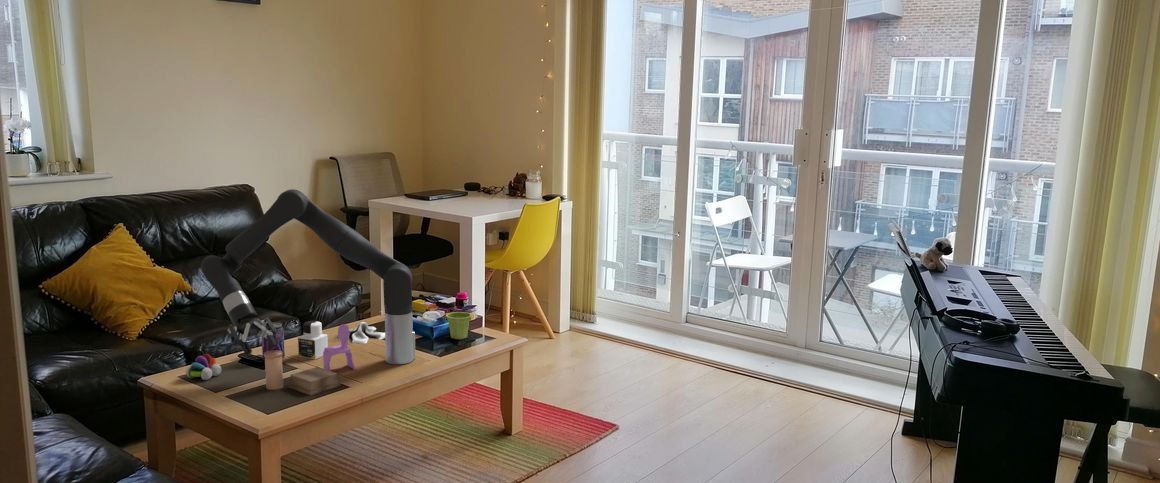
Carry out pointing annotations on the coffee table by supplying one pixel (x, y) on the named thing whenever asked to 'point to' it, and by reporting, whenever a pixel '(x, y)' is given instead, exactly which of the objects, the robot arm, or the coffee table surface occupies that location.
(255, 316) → the robot arm
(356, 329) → the cloth
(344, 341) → the toy chair
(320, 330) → the medicine bottle
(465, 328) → the plant pot
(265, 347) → the beverage can
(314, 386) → the base slab
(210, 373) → the colorful domed toy
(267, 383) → the canister
